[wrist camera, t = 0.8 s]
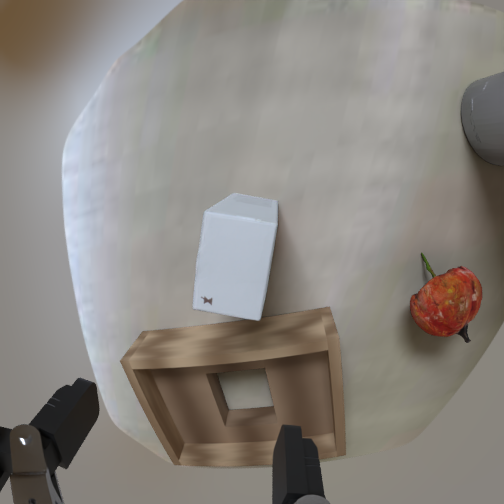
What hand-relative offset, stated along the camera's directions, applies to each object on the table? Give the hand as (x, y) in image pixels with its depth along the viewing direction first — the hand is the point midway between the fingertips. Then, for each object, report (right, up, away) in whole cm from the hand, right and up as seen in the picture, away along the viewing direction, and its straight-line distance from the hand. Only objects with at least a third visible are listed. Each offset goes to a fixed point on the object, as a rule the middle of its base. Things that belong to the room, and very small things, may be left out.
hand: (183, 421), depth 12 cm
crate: (+2, -8, +22) cm, 24 cm away
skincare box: (+3, +9, +18) cm, 20 cm away
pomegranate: (+21, +4, +18) cm, 28 cm away
